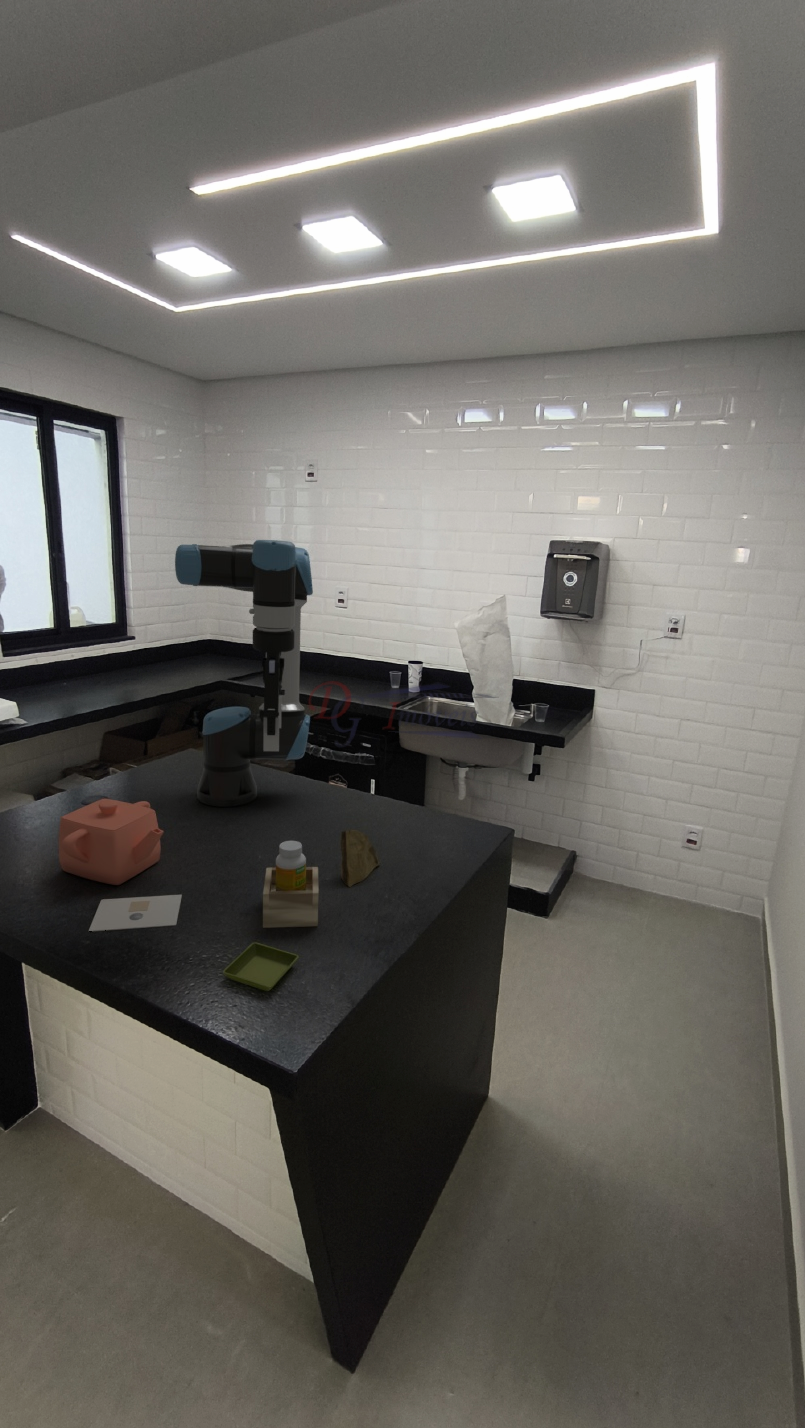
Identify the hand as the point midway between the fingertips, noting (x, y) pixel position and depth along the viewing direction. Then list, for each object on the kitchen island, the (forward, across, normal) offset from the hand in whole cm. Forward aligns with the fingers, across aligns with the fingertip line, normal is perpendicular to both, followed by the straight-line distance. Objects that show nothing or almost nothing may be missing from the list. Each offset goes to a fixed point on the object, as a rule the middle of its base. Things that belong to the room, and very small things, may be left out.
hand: (272, 738), depth 123 cm
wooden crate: (+28, +15, +4) cm, 32 cm away
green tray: (+29, +32, 0) cm, 43 cm away
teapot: (+29, -3, -30) cm, 42 cm away
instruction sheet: (+28, +13, -23) cm, 39 cm away
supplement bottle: (+25, +14, +4) cm, 29 cm away
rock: (+29, +1, +18) cm, 34 cm away
